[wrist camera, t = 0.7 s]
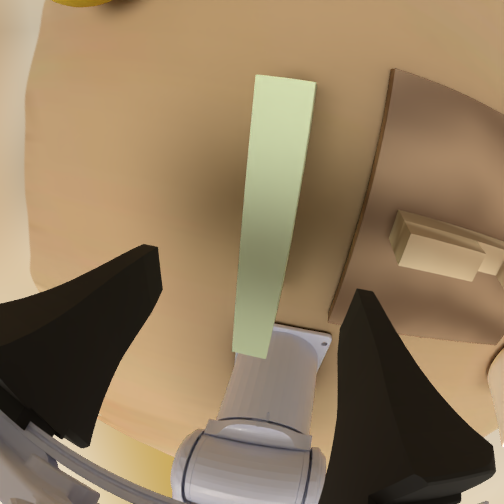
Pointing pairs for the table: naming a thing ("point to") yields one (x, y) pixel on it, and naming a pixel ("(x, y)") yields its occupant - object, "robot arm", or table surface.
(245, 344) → the slotted plate
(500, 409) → the cup
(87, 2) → the lemon
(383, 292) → the base
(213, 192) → the table surface
